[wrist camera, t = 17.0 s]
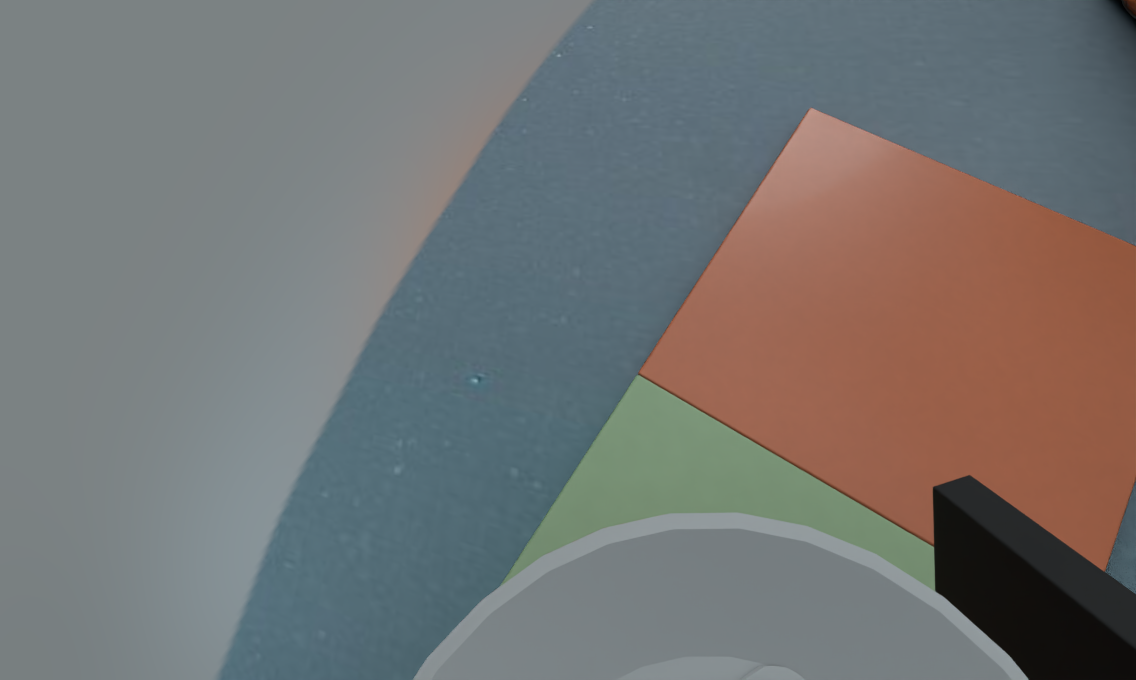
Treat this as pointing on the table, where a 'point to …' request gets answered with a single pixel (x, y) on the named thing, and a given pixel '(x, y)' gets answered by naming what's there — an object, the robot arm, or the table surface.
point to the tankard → (1130, 6)
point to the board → (879, 364)
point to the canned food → (715, 612)
